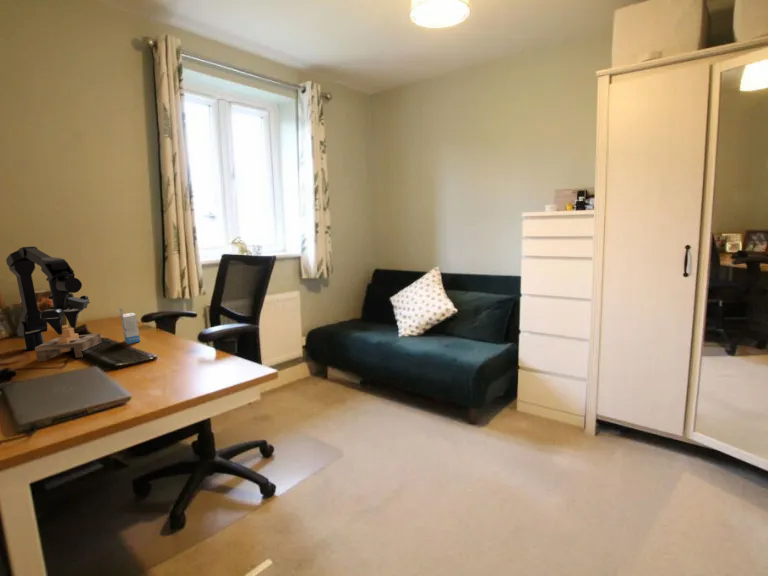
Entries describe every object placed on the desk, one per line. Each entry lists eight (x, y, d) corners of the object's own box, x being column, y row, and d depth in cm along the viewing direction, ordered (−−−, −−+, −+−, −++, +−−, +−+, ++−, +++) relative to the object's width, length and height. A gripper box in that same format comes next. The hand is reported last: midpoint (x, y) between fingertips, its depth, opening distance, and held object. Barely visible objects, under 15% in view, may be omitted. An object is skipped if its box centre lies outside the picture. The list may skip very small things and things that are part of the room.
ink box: (141, 341, 177) (135, 307, 174) (127, 344, 174) (121, 309, 171) (137, 338, 183) (132, 305, 181) (124, 340, 180) (118, 307, 178)
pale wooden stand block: (72, 346, 168) (68, 326, 167) (80, 345, 169) (76, 326, 167) (60, 352, 160) (56, 331, 159) (68, 351, 161) (65, 331, 160)
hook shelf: (59, 350, 170) (57, 337, 170) (102, 346, 173) (100, 333, 172) (37, 361, 157) (34, 347, 156) (84, 356, 159) (81, 342, 158)
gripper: (69, 294, 153) (76, 335, 156) (95, 286, 171) (101, 323, 174) (35, 296, 151) (43, 338, 154) (65, 289, 169) (72, 326, 172)
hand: (67, 331), depth 163 cm, fingers open, 9 cm apart
